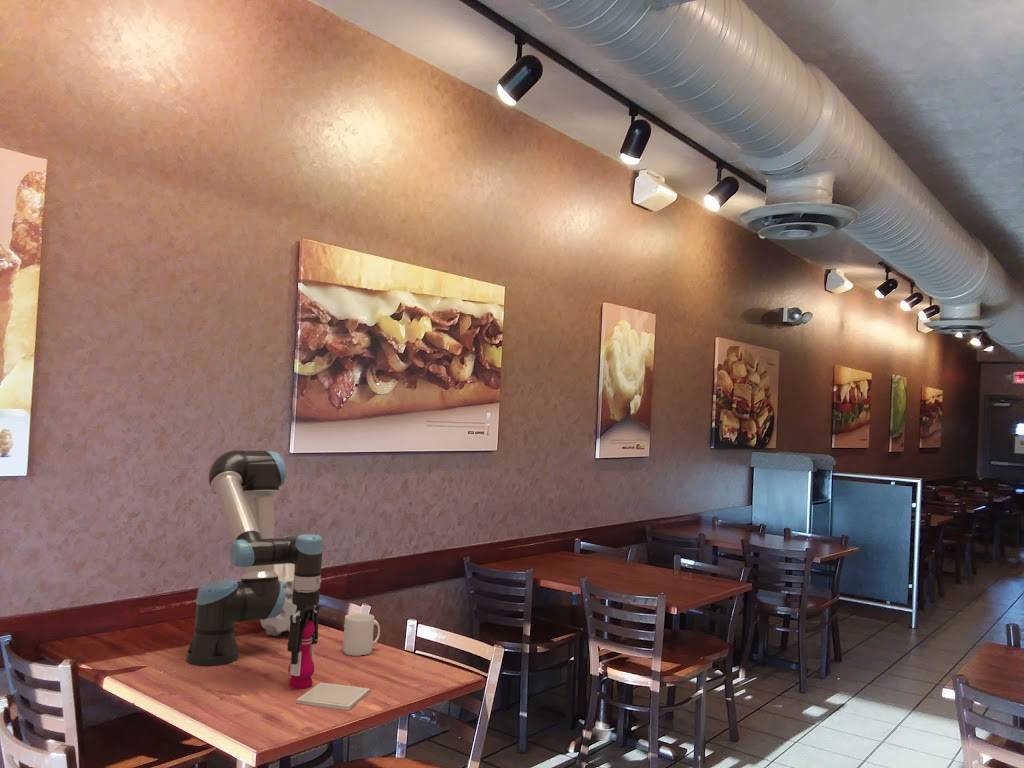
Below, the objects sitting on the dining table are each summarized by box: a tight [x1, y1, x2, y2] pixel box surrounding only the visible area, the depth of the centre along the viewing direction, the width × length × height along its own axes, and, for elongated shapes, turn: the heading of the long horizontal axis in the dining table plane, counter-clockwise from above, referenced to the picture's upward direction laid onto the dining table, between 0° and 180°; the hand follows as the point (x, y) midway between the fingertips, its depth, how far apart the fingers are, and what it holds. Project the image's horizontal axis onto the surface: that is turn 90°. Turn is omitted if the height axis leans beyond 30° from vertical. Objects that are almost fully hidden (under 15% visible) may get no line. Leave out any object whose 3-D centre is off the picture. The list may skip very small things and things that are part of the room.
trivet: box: [295, 682, 371, 711], centre depth 220 cm, size 15×15×1 cm
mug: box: [342, 612, 381, 657], centre depth 264 cm, size 9×12×12 cm
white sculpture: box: [259, 564, 297, 637], centre depth 283 cm, size 20×16×25 cm
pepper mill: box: [287, 620, 315, 690], centre depth 229 cm, size 7×7×20 cm
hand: (301, 670), depth 228 cm, fingers closed on pepper mill, 7 cm apart
